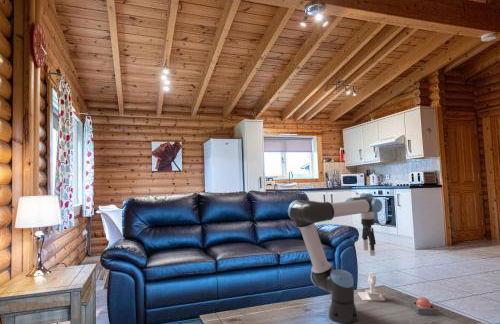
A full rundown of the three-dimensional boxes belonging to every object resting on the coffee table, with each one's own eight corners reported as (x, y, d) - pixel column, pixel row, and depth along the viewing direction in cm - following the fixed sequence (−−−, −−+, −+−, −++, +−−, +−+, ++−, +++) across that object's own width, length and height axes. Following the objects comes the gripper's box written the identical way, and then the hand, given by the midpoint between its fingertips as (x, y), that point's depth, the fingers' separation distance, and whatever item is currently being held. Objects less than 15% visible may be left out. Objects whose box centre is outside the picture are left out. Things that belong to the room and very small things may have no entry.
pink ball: (420, 313, 174) (419, 300, 175) (414, 308, 181) (413, 295, 182) (433, 313, 174) (432, 300, 174) (427, 308, 181) (426, 295, 181)
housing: (418, 314, 173) (418, 308, 173) (410, 307, 183) (410, 301, 183) (437, 314, 172) (437, 308, 173) (428, 307, 182) (428, 301, 183)
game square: (363, 300, 194) (363, 299, 194) (357, 292, 207) (357, 291, 207) (385, 300, 193) (385, 299, 193) (378, 292, 206) (378, 291, 206)
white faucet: (376, 294, 201) (375, 270, 202) (381, 300, 192) (380, 274, 193) (364, 295, 202) (363, 270, 203) (369, 300, 192) (367, 274, 193)
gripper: (380, 221, 190) (382, 257, 189) (367, 215, 214) (369, 248, 213) (367, 221, 190) (368, 257, 189) (356, 215, 215) (357, 248, 214)
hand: (369, 252), depth 201 cm, fingers open, 13 cm apart
